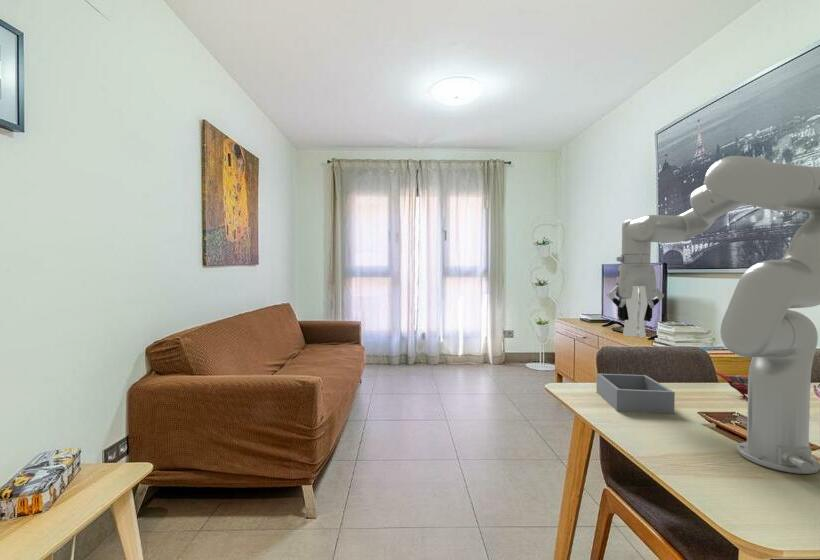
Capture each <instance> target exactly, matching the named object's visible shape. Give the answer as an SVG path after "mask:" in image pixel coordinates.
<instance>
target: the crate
mask: <svg viewBox="0 0 820 560" xmlns="http://www.w3.org/2000/svg"><path fill="white" fill-rule="evenodd" d="M596 391H597V392H598V393H599V394H600V395H601V397H602V398H603V400H605V401H606V403H607V404H608V405H610V406H611V408H613V409H614V410H615V411H616V412H628V413H629V412H631V413H633V412H634V413H635V412H636V413H649V412H650V413H652V414H653V413H655V414H675V397H676V396H675V391H673V390H672V389H670V388H668V387H666V386H665V385H663V384H661V382H658V381H656V380H654V379H653V378H651V377H649V376H648V375H647V374H644V375H643V374H622V373H621V374H619V373H596ZM597 392H596V393H597ZM598 393H597V394H598ZM599 394H598V395H599Z"/></svg>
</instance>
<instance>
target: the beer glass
mask: <svg viewBox="0 0 820 560" xmlns="http://www.w3.org/2000/svg"><path fill="white" fill-rule="evenodd" d="M632 288H633V291H632V297H631V298H630V299H625V304H624V308H625V321H623V322H624V324H623V325H624V327H623V331H622V335H623V336H625V337H631V338H645V337H647V334H646V327H645V325H646V324H645V323H646V321H645V318H646V313H647V308H648V299H647V298H646V291H645V286H632Z"/></svg>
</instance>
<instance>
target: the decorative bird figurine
mask: <svg viewBox="0 0 820 560" xmlns="http://www.w3.org/2000/svg"><path fill="white" fill-rule="evenodd" d="M713 373H715V374H716V375H717V376H719V377H721V378H722V379H724V380H725V381H726V382H727V384H729V386H730V387H731V388H733V389H735V391H737V392H738V393H740V395H739V397H741V399H745V400H747V401H748V375H749V374H747V375H746V374H744V375H743V374H739V375H738V374H737V375H729V376H728V375H725V374H722V373H720V372H717V371H715V370H714V371H713Z"/></svg>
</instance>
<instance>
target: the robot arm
mask: <svg viewBox="0 0 820 560" xmlns="http://www.w3.org/2000/svg"><path fill="white" fill-rule="evenodd" d="M689 203H690V204H689V205H690V206H691V208H690V209H688V210H687V211H685V212H682V213H681V214H678V215H666V214H649V215H648V214H647V215H645V216H641V217H639V218H632V219H631V218H630V219H626V220H625V221H623V223H622V224H621V254H620V256H617V257H616V262H620V264H621V265H619V266H618V268H617V274H616V278H615V279H616V280H615V286H614V287H613V288H612V289H611V290H609V291H608V293H607V292H606V297H608V299H609V300H611V302H612V303H613V304H615V306H616V307H617V318H618V320H619V321H622V322H624V321H625V308H624V304H625V299H630V298H631V297H632V291H633V288H632V286H645V291H646V298H647V299H648V308H647V313H646V318H645V322H651V321H652V318H653V309H654V308H655V306H657V304H658V303H659V302H660V301H661V300H662V299H663V298H664V297H665V294H664V293H663V292H662V291H661V290H659V288H658V287H657V277H656V271H655V266H654V265H651V256H652V255H651V253H652V251H651V248H652V246H651V245H652V243H675V244H676V243H681V242H683V241H687V240H689V239H691V238H693V237H696V236H697V235H700V234H702V233H704V232H706V231H707V230H709V228H710V227H711V226H712V225H713V224H714V223H715V221H716V219H717V218H719V217H721V216H724V215H726V214H728V213H729V212H732V211H733V210H736V209H738V208H740V207H743V206H744V205H750V206H753V207H758V208H762V209H766V210H772V211H780V212H782V211H783V212H805V213H806V212H807V213H808V214H809V217H808V218H807V220H805V221H804V223H802V225H801V226H800V227H799V228H798V229H797V230H796V231H795V234H794V235H793V237H792V238H791V240H790V243H789V246H788V247H787V250H786V252H785V253H784V255H783V257H782V258H781V259H768V260H763V261H760V262H757V263H755V264H753V265H752V266H750V267H749V268H748V269H747V270H746V271H745V272H744V273H743V274H742V275H741V276H740V278H739V280H738V281H737V284H736V287H735V288H734V290H733V293H732V296H731V299H730V301H729V303H728V305H727V308H726V311H725V313H724V316H723V318H722V321H721V324H720V331H719V332H720V338H721V341H722V343H723V345H724V347H726V349H727V350H728V351H729V352H730V353H733V354H735V355H736V356H739V357H743V358H751V361H750V364H749V367H748V374H747V375H748V395H747V397H748V400H747V419H746V420H747V425H746V441H742V442H739V443H738V444H737V445H736V446H737V452H738V454H739V455H740V456H742V458H745V459H746V460H748V461H749V462H753V463H754V464H757V465H760V466H761V467H762V466H763V467H766V468H769V469H772V470H776V471H780V472H785V473H791V474H800V475H807V474H808V475H810V474H815V473H818V472H819V470H820V462H819V461H817V460H816V459H815V458H814V457H812V454H813V453H812V448H810V447H809V446H810V444H809V443H810V408H811V407H810V406H811V405H810V404H811V403H810V402H811V379H812V377H811V376H812V368H813V363H814V357H815V354H816V350H817V346H818V342H819V336H818V335H819V334H818V330H817V328H816V325H815V324H814V323H813V321H812V320H811V319H810V318H809V317H808V316H806V315H805V314H803V313H801V312H798V311H796V310H791V309H803V308H805V309H806V308H812V307H817V306H819V305H820V166H808V165H798V164H797V165H795V164H787V163H779V162H774V161H772V160H770V159H766V158H762V157H755V156H742V155H730V156H726V157H723V158H721V159H719V160H717V161H715V162H714V163H713V164H712V165H711V166H709V168H708V170H707V171H706V173H705V176H704V184H702V185H701V186H699V187H697V188H695V189H694V190H693V191H692V192H691V194H690V197H689Z"/></svg>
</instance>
